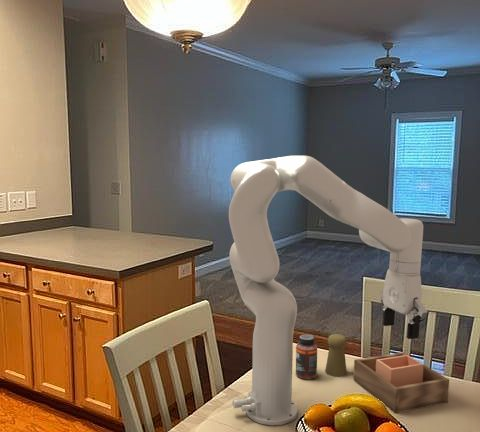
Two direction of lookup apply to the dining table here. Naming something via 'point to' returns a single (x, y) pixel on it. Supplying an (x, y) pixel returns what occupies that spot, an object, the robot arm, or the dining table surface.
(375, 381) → the big crate
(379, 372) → the small crate
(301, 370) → the supplement bottle
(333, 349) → the olive green pawn
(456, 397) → the dining table surface
